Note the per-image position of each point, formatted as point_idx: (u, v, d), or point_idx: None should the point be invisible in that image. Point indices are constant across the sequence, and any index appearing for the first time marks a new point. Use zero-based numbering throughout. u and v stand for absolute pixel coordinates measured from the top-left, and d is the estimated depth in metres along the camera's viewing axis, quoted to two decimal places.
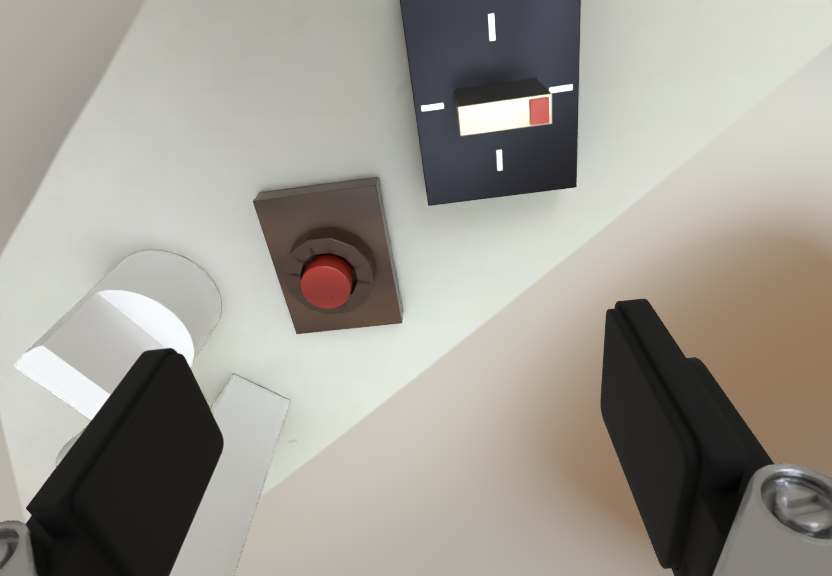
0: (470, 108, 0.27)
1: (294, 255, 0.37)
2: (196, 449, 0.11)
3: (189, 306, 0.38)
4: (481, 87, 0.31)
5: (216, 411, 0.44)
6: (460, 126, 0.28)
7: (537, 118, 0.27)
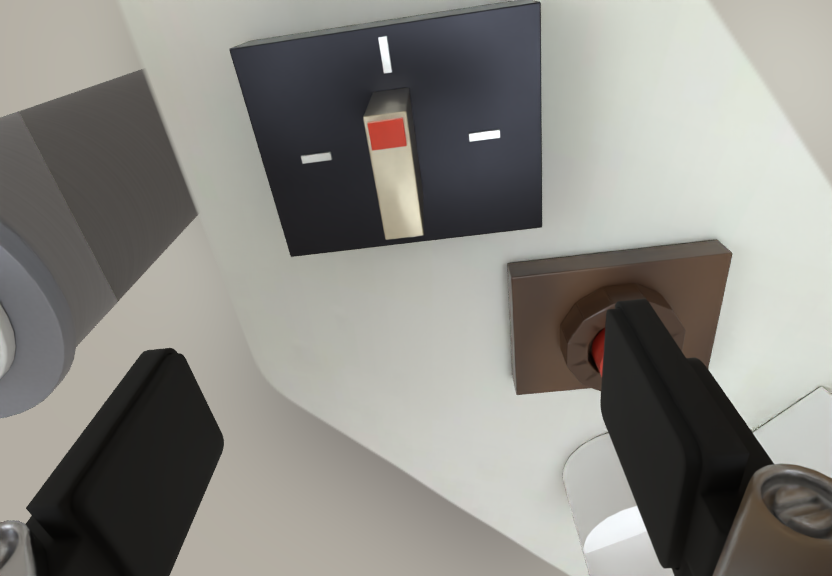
0: (386, 224, 0.21)
1: (584, 378, 0.30)
2: (196, 449, 0.11)
3: (626, 483, 0.34)
4: None
5: None
6: (410, 235, 0.21)
7: (396, 137, 0.19)
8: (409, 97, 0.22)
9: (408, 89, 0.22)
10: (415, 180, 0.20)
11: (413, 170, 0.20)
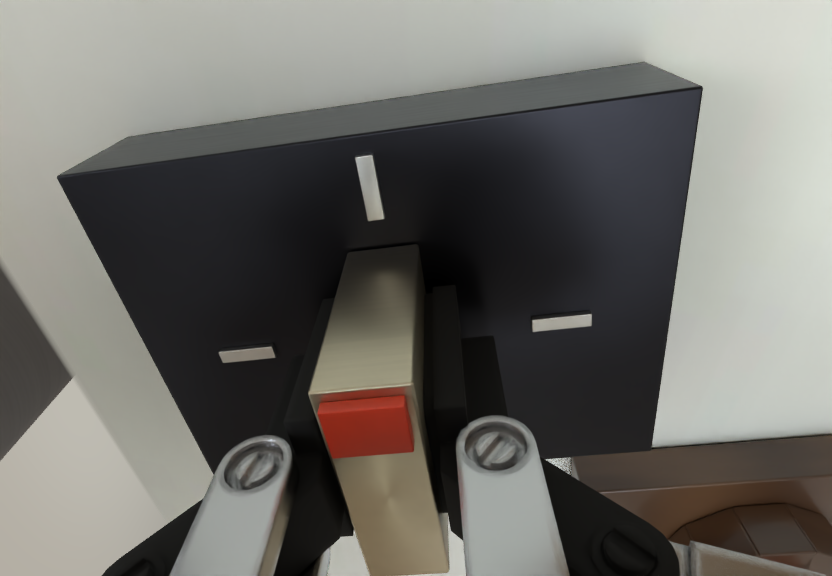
0: (371, 558, 0.10)
1: None
2: None
3: None
4: None
5: None
6: (421, 573, 0.10)
7: (389, 438, 0.08)
8: (419, 270, 0.11)
9: (417, 252, 0.11)
10: (433, 493, 0.09)
11: (429, 481, 0.09)
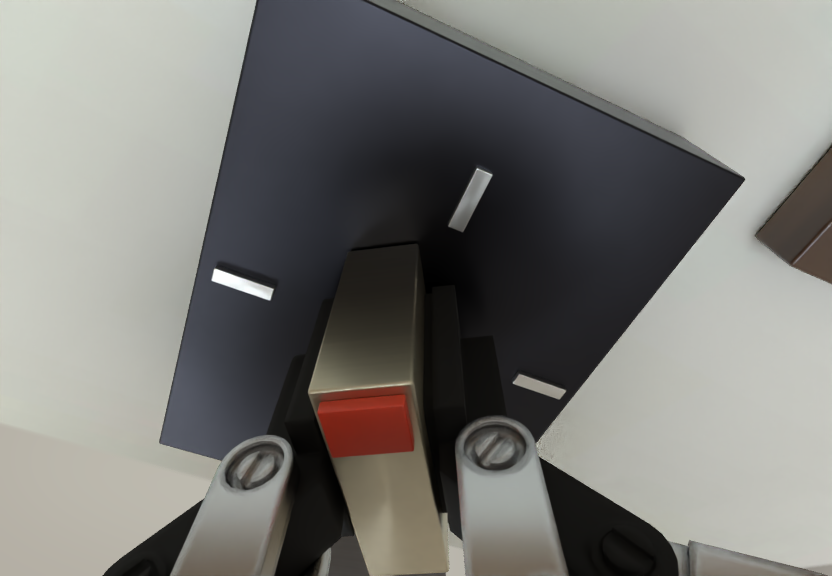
0: (371, 557, 0.10)
1: None
2: None
3: None
4: None
5: None
6: (421, 572, 0.10)
7: (389, 437, 0.08)
8: (419, 269, 0.11)
9: (417, 252, 0.11)
10: (433, 493, 0.09)
11: (429, 480, 0.09)
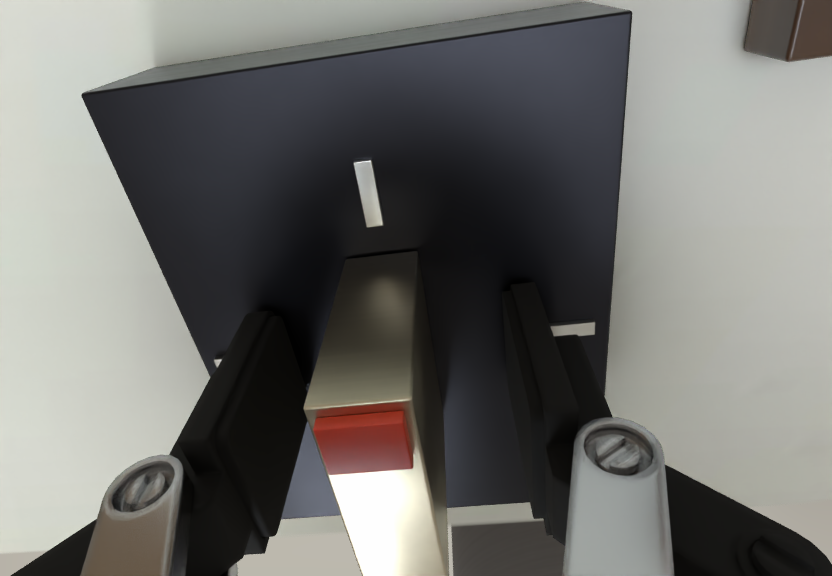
0: (369, 574, 0.10)
1: None
2: (293, 406, 0.12)
3: None
4: None
5: None
6: None
7: (387, 455, 0.07)
8: (419, 278, 0.11)
9: (417, 260, 0.11)
10: (433, 510, 0.09)
11: (428, 497, 0.08)
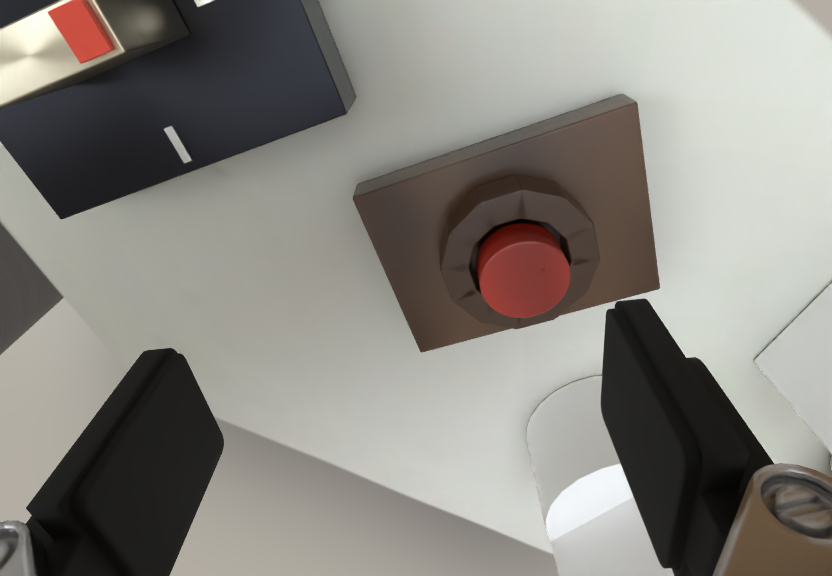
0: None
1: (482, 315, 0.23)
2: (196, 449, 0.11)
3: (583, 444, 0.26)
4: None
5: (808, 424, 0.24)
6: None
7: (83, 46, 0.13)
8: (175, 40, 0.17)
9: (185, 35, 0.17)
10: (46, 85, 0.14)
11: (57, 79, 0.14)
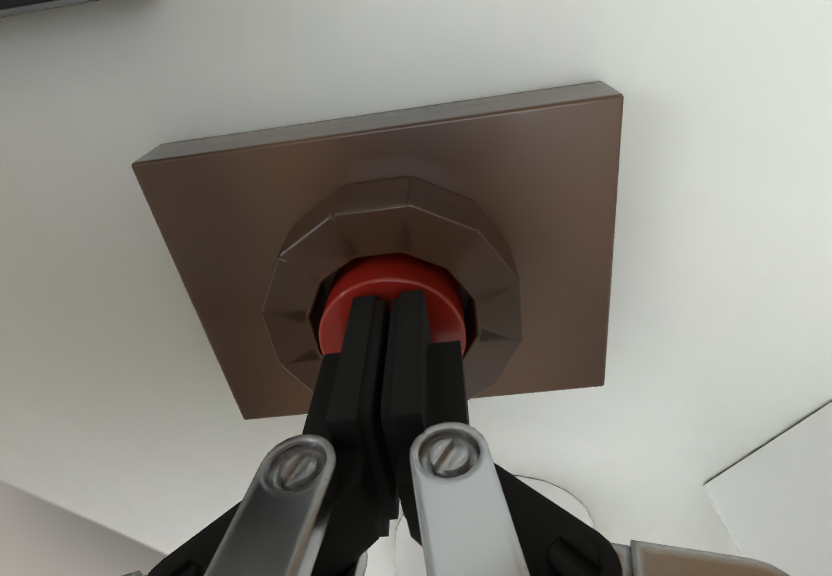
0: None
1: None
2: None
3: None
4: None
5: None
6: None
7: None
8: None
9: None
10: None
11: None
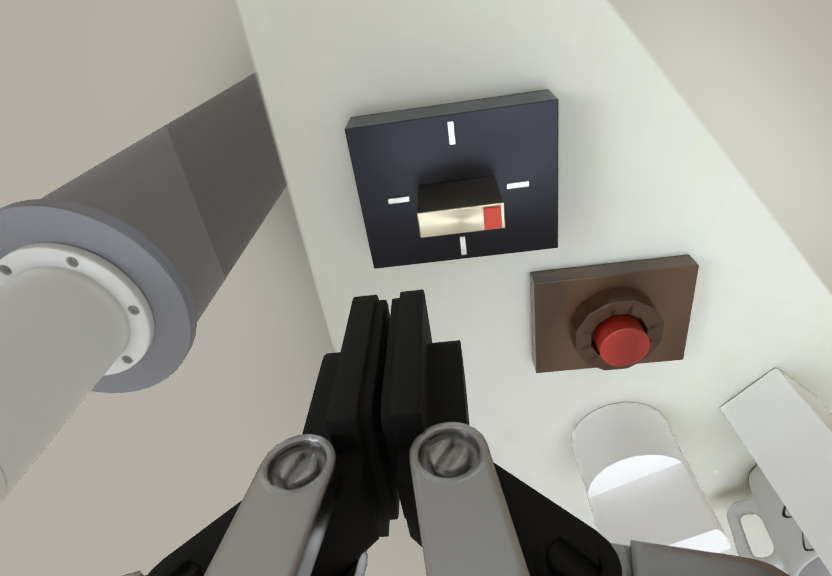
0: (428, 214, 0.30)
1: (588, 359, 0.40)
2: None
3: (621, 442, 0.44)
4: (443, 184, 0.33)
5: (747, 447, 0.43)
6: (420, 229, 0.30)
7: (491, 224, 0.30)
8: None
9: None
10: (460, 232, 0.30)
11: (467, 231, 0.30)
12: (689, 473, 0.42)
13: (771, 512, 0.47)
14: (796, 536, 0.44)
